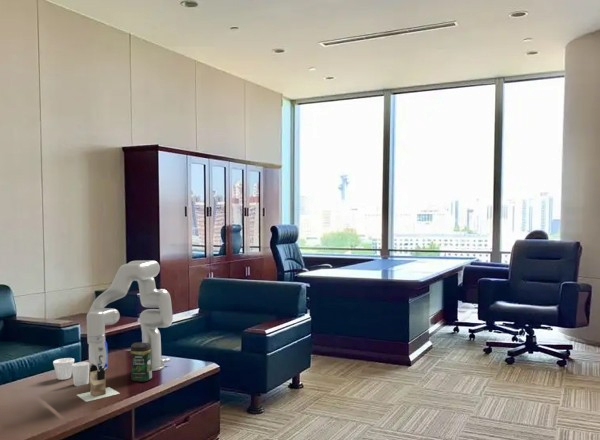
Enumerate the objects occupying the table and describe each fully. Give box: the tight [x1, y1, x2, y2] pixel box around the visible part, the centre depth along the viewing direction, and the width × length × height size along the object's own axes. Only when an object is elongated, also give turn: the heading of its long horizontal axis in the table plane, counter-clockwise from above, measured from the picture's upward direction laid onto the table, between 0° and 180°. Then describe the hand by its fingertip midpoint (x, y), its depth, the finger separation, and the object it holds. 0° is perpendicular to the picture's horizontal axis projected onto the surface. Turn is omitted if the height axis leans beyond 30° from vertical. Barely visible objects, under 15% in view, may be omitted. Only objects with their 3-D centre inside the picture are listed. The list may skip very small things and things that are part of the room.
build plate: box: [76, 386, 121, 403], centre depth 235 cm, size 15×13×1 cm
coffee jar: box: [130, 341, 153, 383], centre depth 259 cm, size 10×8×19 cm
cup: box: [52, 357, 75, 381], centre depth 267 cm, size 10×10×9 cm
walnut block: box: [89, 382, 107, 397], centre depth 235 cm, size 5×5×5 cm
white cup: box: [72, 361, 90, 387], centre depth 256 cm, size 8×8×10 cm
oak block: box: [89, 370, 106, 385], centre depth 235 cm, size 5×5×5 cm
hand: (97, 377), depth 235 cm, fingers open, 8 cm apart
